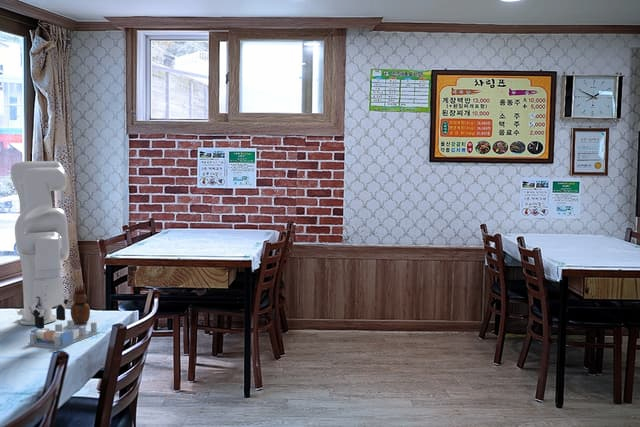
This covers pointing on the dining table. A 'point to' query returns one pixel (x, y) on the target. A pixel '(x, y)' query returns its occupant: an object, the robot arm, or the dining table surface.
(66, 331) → the blue and grey tray
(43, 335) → the white rounded bar
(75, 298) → the wooden figurine
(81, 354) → the dining table surface
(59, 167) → the robot arm
